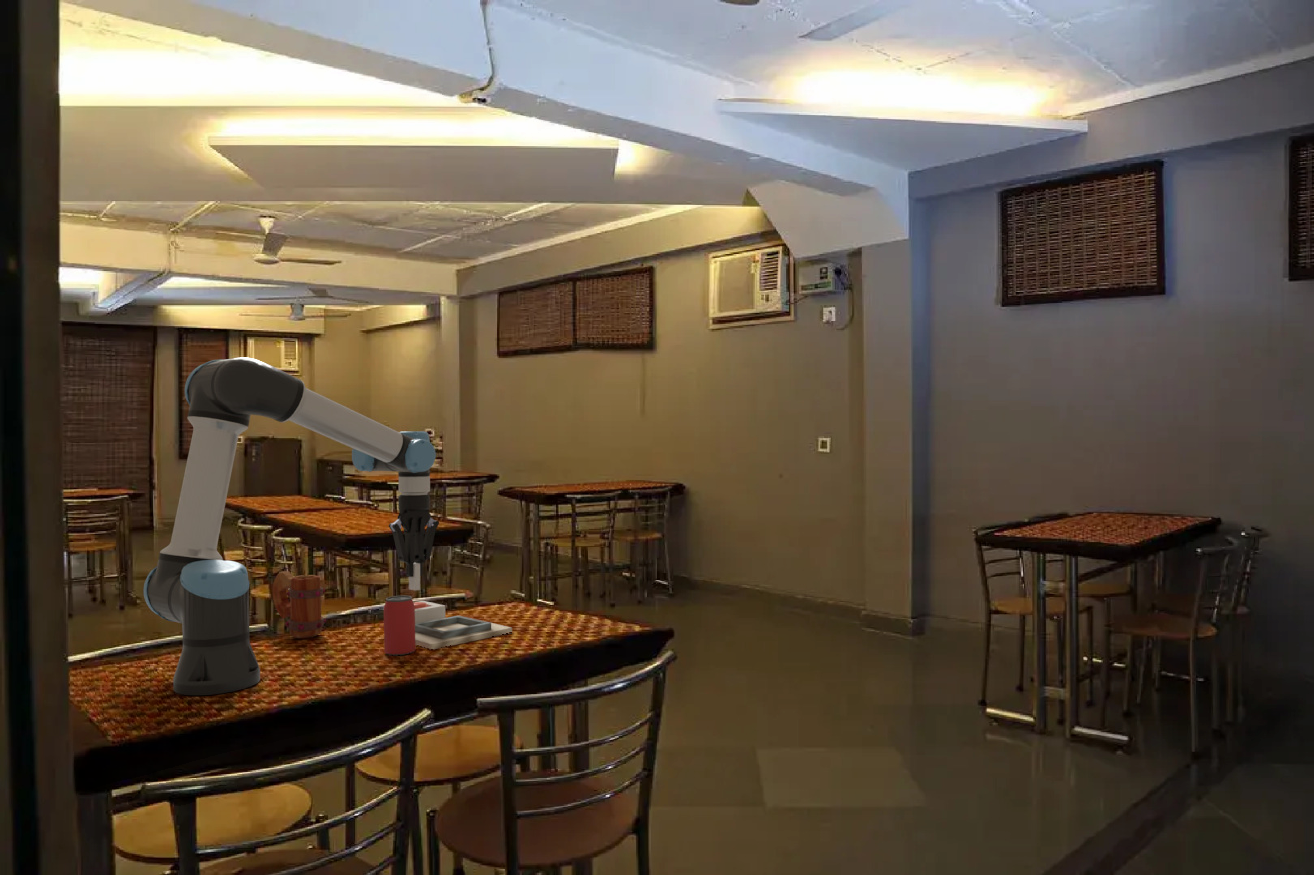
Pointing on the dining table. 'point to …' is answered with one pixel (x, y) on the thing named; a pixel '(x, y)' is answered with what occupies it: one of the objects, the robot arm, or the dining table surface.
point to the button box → (429, 612)
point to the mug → (299, 603)
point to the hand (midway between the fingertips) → (414, 589)
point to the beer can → (399, 625)
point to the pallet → (455, 631)
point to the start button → (419, 605)
